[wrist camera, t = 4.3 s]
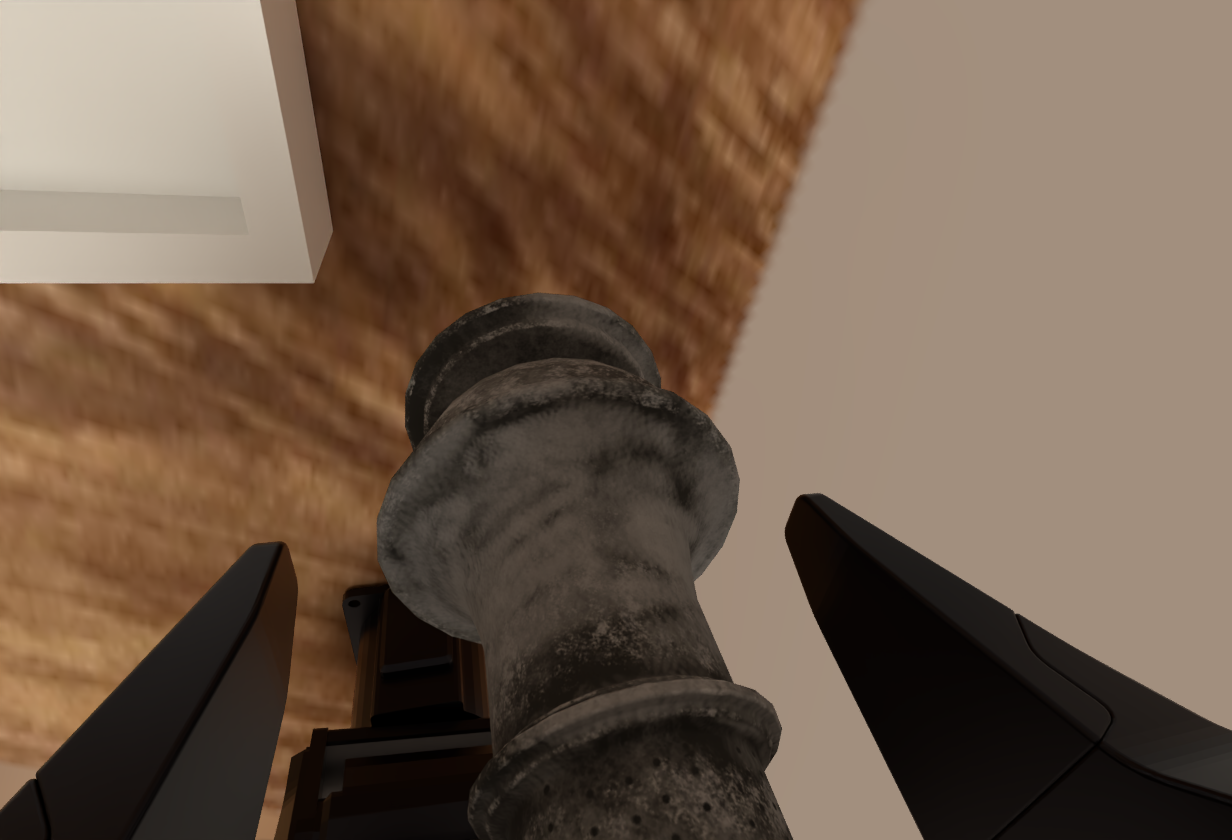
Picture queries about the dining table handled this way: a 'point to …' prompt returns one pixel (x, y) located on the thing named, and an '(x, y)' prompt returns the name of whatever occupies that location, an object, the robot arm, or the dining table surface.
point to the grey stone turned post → (579, 578)
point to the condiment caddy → (158, 143)
